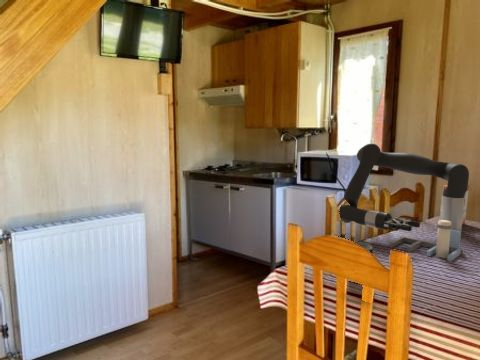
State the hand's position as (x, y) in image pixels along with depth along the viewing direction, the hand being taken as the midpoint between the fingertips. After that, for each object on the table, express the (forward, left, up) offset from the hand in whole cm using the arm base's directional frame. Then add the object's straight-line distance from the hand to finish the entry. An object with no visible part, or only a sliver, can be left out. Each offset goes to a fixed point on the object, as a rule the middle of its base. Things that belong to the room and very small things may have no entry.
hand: (415, 226), depth 159 cm
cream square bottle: (+9, +6, -10) cm, 15 cm away
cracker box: (-36, +45, -10) cm, 59 cm away
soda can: (+28, -37, -10) cm, 47 cm away
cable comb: (+1, +4, -10) cm, 11 cm away
